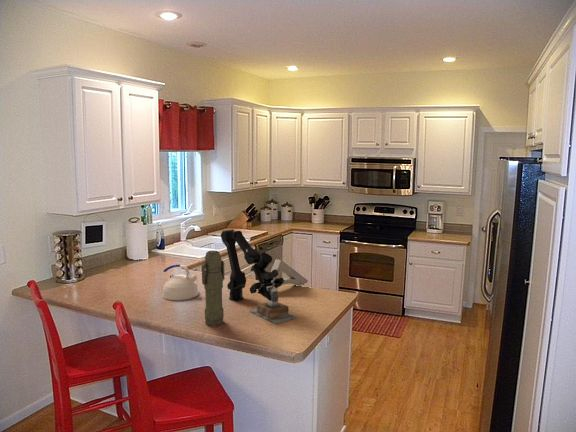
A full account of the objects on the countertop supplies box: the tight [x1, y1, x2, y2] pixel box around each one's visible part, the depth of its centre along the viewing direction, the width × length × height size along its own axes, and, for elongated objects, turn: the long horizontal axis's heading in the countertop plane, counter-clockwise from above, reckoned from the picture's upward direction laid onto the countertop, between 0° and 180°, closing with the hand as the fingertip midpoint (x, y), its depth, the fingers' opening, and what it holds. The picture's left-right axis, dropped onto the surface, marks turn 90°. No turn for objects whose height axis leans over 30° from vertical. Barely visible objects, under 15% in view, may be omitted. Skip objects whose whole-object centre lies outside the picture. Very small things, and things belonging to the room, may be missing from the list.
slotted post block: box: [249, 301, 298, 325], centre depth 228 cm, size 22×13×5 cm, turn 40°
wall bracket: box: [267, 258, 309, 288], centre depth 272 cm, size 22×4×30 cm
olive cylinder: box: [201, 250, 226, 327], centre depth 216 cm, size 9×12×35 cm
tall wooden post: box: [266, 286, 279, 309], centre depth 227 cm, size 4×4×12 cm
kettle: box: [162, 263, 199, 301], centre depth 260 cm, size 20×21×18 cm
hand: (274, 299), depth 226 cm, fingers open, 4 cm apart
